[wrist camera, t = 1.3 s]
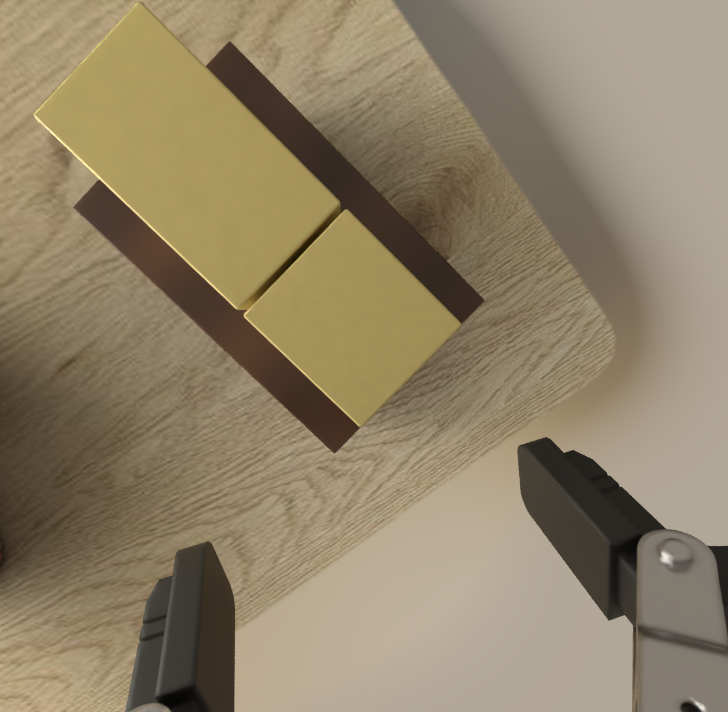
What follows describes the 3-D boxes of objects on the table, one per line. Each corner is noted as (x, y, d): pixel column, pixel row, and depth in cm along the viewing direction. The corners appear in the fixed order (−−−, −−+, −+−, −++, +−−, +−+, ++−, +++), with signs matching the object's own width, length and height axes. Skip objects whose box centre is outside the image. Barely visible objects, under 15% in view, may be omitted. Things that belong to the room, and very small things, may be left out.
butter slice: (421, 320, 24) (463, 324, 16) (353, 389, 24) (360, 428, 16) (343, 242, 23) (346, 207, 15) (274, 314, 24) (241, 315, 16)
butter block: (340, 239, 23) (341, 202, 15) (271, 310, 24) (237, 310, 16) (209, 108, 23) (138, -1, 15) (138, 183, 23) (30, 114, 15)
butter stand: (442, 303, 34) (485, 300, 24) (335, 412, 34) (334, 454, 24) (263, 123, 32) (229, 40, 22) (153, 239, 33) (71, 207, 23)
